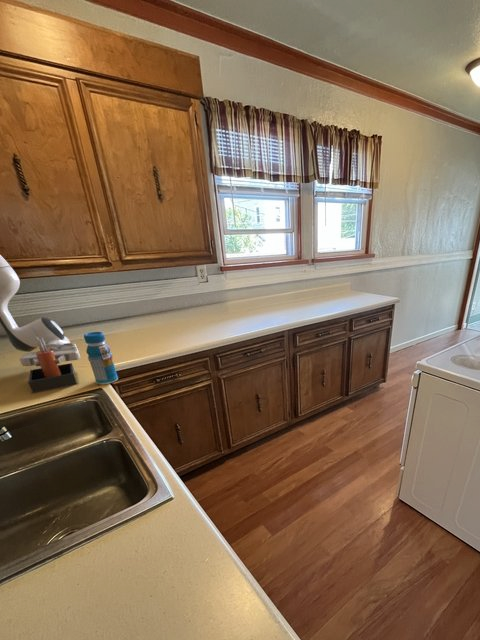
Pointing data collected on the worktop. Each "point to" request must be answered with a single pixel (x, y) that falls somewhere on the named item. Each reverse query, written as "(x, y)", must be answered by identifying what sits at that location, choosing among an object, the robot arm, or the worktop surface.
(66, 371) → the bin
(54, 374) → the cutlery cup
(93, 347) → the beverage bottle
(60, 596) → the worktop surface
